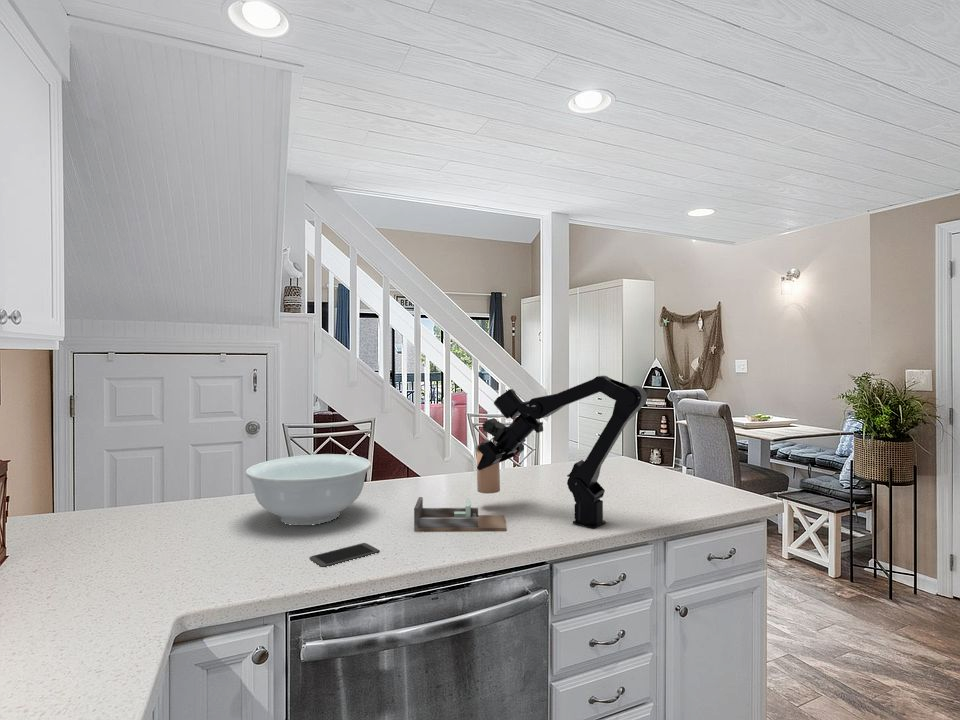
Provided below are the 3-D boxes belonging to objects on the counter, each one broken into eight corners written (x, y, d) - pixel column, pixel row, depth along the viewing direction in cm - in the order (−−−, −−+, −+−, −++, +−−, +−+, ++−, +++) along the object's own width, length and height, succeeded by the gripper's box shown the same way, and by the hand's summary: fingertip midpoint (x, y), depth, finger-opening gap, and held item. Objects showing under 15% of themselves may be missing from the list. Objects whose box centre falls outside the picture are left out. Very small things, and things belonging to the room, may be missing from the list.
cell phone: (381, 553, 121) (381, 550, 121) (322, 570, 112) (322, 566, 112) (365, 545, 127) (365, 542, 127) (307, 560, 118) (307, 556, 118)
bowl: (270, 547, 125) (269, 484, 125) (231, 515, 150) (230, 463, 150) (392, 520, 145) (392, 465, 145) (340, 496, 170) (339, 450, 170)
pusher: (470, 516, 145) (470, 498, 145) (470, 524, 138) (470, 506, 138) (454, 516, 145) (454, 499, 145) (453, 524, 138) (453, 506, 138)
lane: (504, 517, 147) (503, 496, 147) (506, 531, 136) (505, 507, 136) (419, 518, 147) (418, 497, 147) (414, 531, 136) (414, 508, 136)
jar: (505, 490, 156) (504, 445, 156) (489, 494, 151) (488, 448, 151) (487, 486, 161) (486, 442, 161) (472, 491, 156) (471, 446, 156)
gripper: (514, 407, 162) (482, 441, 168) (483, 412, 146) (449, 450, 152) (538, 435, 158) (505, 469, 164) (510, 444, 142) (474, 481, 148)
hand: (484, 466), depth 157 cm, fingers closed on jar, 6 cm apart
